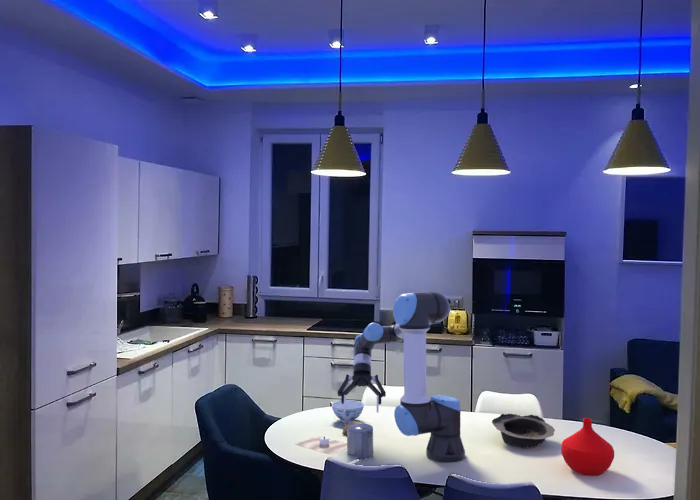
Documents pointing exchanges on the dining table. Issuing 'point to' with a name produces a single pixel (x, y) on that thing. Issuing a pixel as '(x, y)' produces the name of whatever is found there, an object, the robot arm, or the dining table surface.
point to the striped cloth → (315, 445)
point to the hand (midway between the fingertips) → (361, 410)
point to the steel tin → (360, 440)
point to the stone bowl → (523, 429)
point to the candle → (324, 441)
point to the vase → (587, 451)
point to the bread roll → (347, 426)
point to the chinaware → (348, 410)
